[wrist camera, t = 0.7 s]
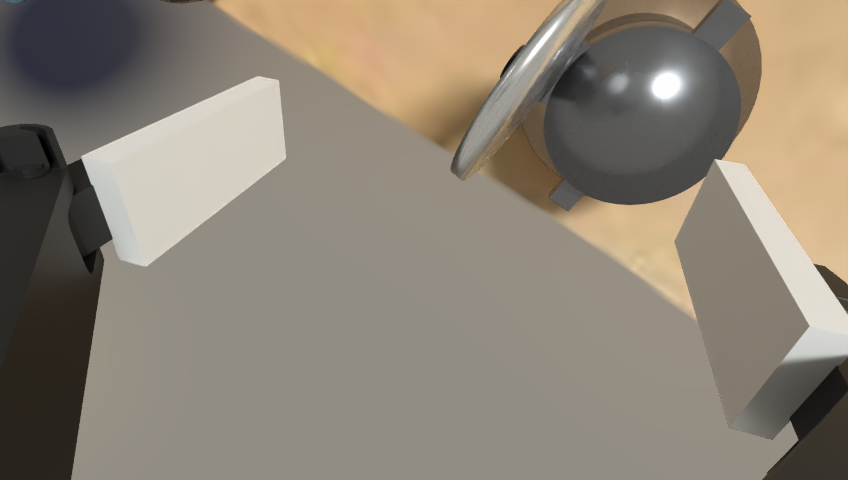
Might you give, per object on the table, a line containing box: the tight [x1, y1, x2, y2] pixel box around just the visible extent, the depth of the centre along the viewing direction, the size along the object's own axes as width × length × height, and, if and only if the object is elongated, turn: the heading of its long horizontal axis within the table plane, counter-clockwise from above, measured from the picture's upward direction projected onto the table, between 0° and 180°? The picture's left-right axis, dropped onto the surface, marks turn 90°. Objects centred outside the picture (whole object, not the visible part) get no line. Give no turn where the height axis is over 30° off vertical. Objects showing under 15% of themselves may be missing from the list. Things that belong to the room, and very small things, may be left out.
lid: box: [451, 0, 608, 181], centre depth 28 cm, size 14×14×2 cm
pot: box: [522, 0, 761, 211], centre depth 37 cm, size 19×19×9 cm
